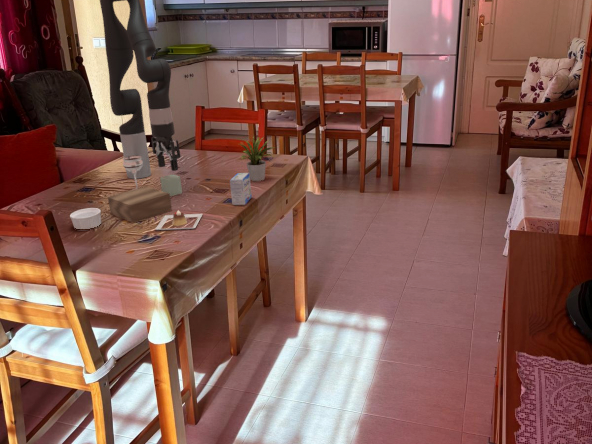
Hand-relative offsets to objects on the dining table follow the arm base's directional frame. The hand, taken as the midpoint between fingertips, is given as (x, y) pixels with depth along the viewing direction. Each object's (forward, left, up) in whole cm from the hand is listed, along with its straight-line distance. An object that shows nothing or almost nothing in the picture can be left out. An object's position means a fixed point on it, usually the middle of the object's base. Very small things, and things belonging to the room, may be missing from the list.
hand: (168, 168), depth 197 cm
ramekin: (+7, -34, -10) cm, 36 cm away
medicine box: (+27, +10, -9) cm, 30 cm away
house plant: (+12, +28, -9) cm, 32 cm away
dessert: (+28, -14, -10) cm, 33 cm away
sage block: (0, 0, -9) cm, 9 cm away
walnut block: (+9, -17, -10) cm, 21 cm away
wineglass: (-14, -6, -9) cm, 18 cm away
